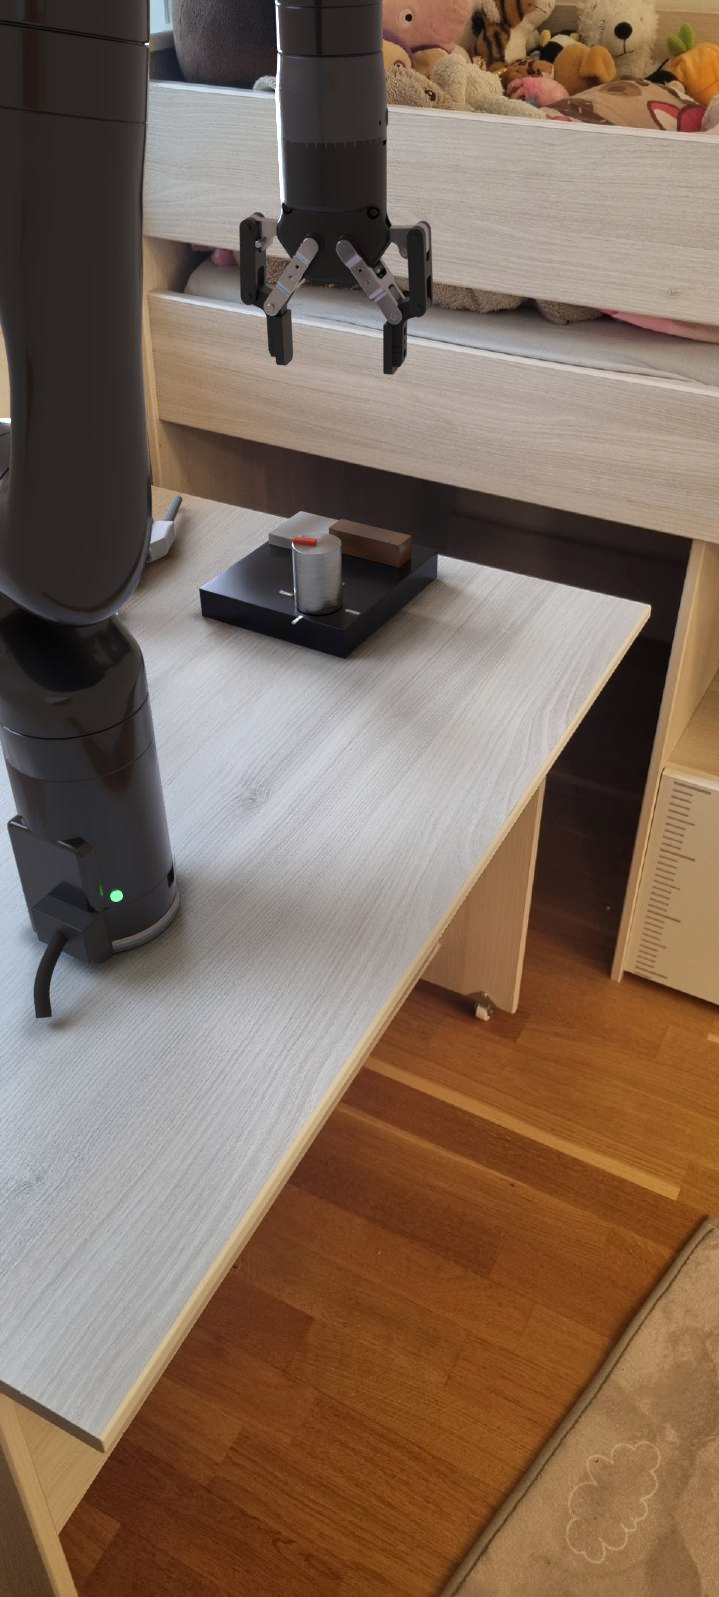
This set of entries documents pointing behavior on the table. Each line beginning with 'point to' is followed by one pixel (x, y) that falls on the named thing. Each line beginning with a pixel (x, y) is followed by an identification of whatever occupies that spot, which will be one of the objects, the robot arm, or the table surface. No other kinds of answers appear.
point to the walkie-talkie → (164, 532)
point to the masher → (347, 538)
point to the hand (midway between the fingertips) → (337, 366)
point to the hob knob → (317, 573)
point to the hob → (267, 606)
